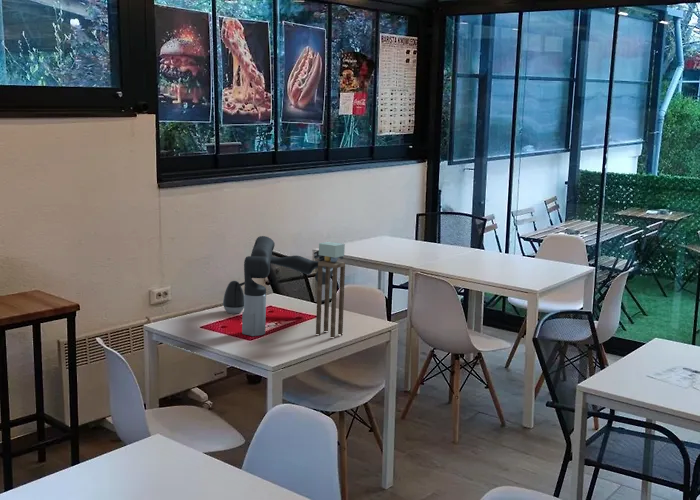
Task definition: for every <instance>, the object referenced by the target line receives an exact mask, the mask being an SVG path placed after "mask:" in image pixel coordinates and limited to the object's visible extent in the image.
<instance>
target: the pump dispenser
mask: <svg viewBox="0 0 700 500" xmlns="http://www.w3.org/2000/svg"><path fill="white" fill-rule="evenodd" d="M243 286H245V281H243V282H241V283H240V282H239V281H238V280H231V281H230V282H229V283H228V284H227V287H226V288H225V291H224V294H223V301H222V305H223V309H224V311H226V313H228V314H231V315H235V314H240V313H241V312H242V311H244V291H243V288H242V287H243Z"/></svg>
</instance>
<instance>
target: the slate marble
mask: <svg viewBox="0 0 700 500" xmlns="http://www.w3.org/2000/svg"><path fill="white" fill-rule="evenodd" d="M338 259H339V258H337V257H336V258H334V257H331V262H333V263H335V262H337V261H338Z"/></svg>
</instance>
